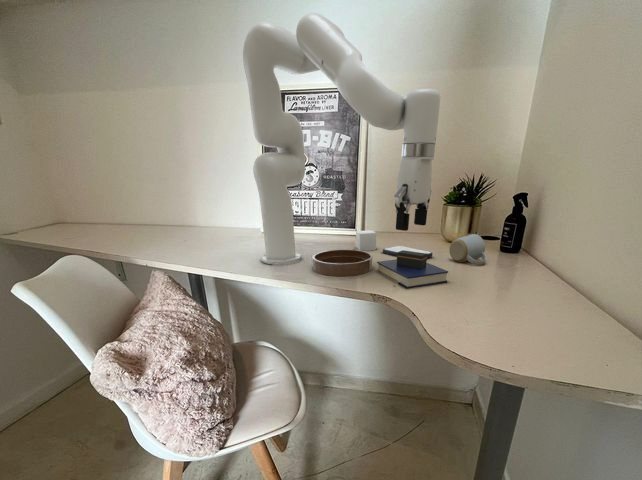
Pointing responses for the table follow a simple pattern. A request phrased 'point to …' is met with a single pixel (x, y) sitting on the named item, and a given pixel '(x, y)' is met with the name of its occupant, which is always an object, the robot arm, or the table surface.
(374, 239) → the white cube
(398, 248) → the phone case
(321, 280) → the table surface
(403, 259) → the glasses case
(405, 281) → the book
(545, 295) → the table surface
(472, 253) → the ceramic mug
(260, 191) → the robot arm
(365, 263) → the bowl
